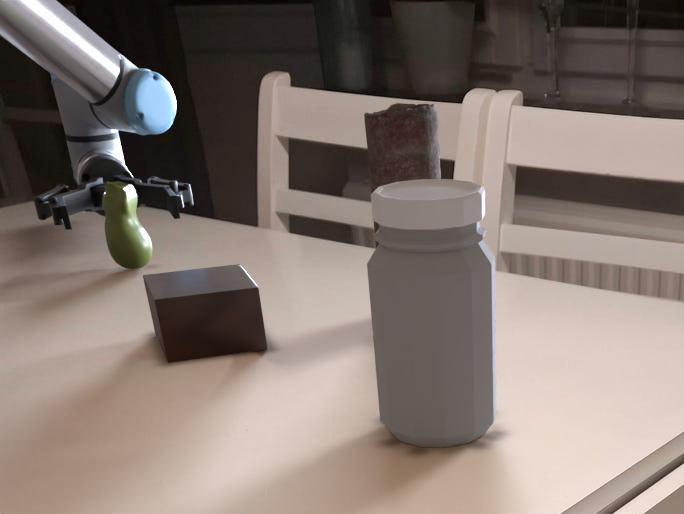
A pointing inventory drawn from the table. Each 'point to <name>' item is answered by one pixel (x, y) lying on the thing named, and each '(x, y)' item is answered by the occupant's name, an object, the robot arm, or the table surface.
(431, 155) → the candle
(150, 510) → the table surface
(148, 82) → the robot arm
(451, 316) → the jar
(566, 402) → the table surface
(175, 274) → the block
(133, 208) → the pear
